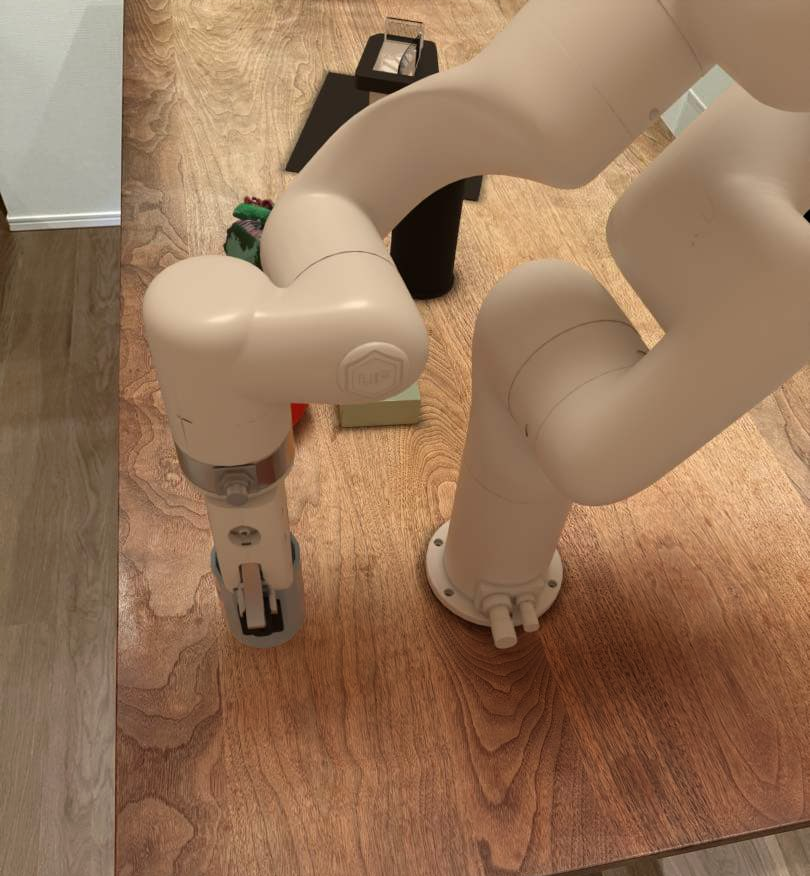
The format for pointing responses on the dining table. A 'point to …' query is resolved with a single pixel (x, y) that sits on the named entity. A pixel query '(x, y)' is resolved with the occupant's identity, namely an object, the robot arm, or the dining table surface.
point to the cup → (289, 597)
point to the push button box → (384, 410)
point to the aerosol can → (429, 242)
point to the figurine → (248, 230)
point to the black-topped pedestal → (370, 90)
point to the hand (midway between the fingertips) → (261, 589)
